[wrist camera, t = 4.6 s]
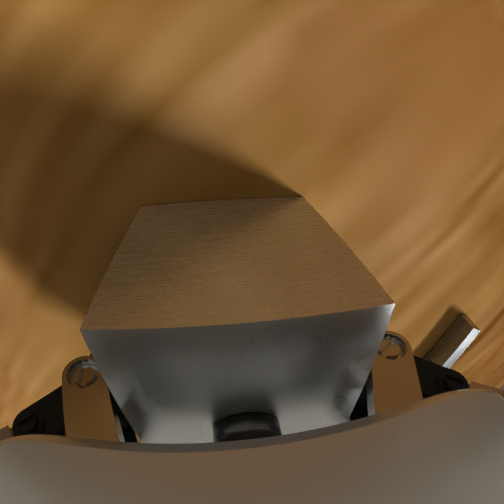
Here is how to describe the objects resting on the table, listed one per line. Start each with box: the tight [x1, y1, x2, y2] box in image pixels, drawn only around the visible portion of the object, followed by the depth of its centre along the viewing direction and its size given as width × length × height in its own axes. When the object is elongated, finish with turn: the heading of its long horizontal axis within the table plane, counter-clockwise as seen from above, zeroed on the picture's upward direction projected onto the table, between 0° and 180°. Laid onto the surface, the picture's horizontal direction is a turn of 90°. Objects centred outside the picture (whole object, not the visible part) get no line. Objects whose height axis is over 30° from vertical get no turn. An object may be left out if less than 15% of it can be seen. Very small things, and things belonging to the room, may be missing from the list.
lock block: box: [80, 197, 395, 444], centre depth 9 cm, size 7×6×7 cm
